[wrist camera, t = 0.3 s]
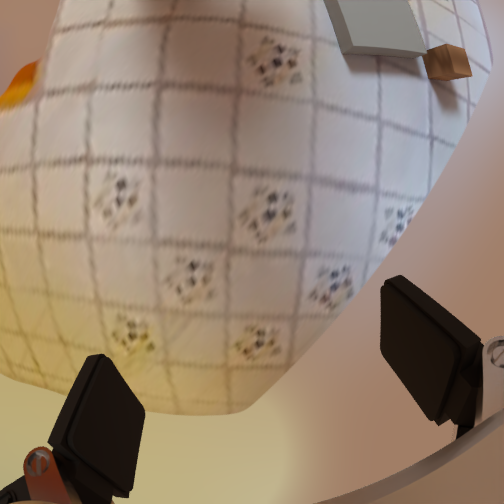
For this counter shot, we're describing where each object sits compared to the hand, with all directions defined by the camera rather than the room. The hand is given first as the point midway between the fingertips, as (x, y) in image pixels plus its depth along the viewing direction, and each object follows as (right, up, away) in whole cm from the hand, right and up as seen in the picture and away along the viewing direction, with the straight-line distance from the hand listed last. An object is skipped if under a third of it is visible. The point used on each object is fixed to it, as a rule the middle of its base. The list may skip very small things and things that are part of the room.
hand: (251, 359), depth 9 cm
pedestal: (+18, +40, +21) cm, 49 cm away
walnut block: (+32, +36, +24) cm, 53 cm away
